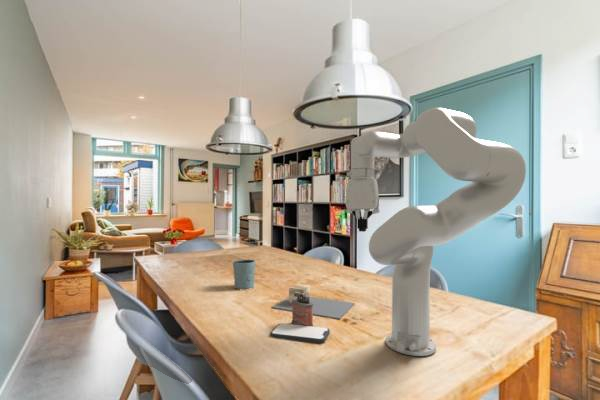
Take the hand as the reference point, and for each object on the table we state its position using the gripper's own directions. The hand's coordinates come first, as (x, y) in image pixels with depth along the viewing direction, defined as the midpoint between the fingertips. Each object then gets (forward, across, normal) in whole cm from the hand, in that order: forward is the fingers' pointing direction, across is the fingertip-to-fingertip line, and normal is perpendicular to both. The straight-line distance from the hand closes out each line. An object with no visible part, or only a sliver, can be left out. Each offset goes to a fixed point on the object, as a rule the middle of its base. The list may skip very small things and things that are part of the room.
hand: (362, 231), depth 101 cm
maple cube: (+23, -26, +7) cm, 35 cm away
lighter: (+29, -16, -12) cm, 35 cm away
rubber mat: (+29, -20, +7) cm, 36 cm away
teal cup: (+29, -59, +17) cm, 68 cm away
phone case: (+30, -14, -18) cm, 38 cm away
